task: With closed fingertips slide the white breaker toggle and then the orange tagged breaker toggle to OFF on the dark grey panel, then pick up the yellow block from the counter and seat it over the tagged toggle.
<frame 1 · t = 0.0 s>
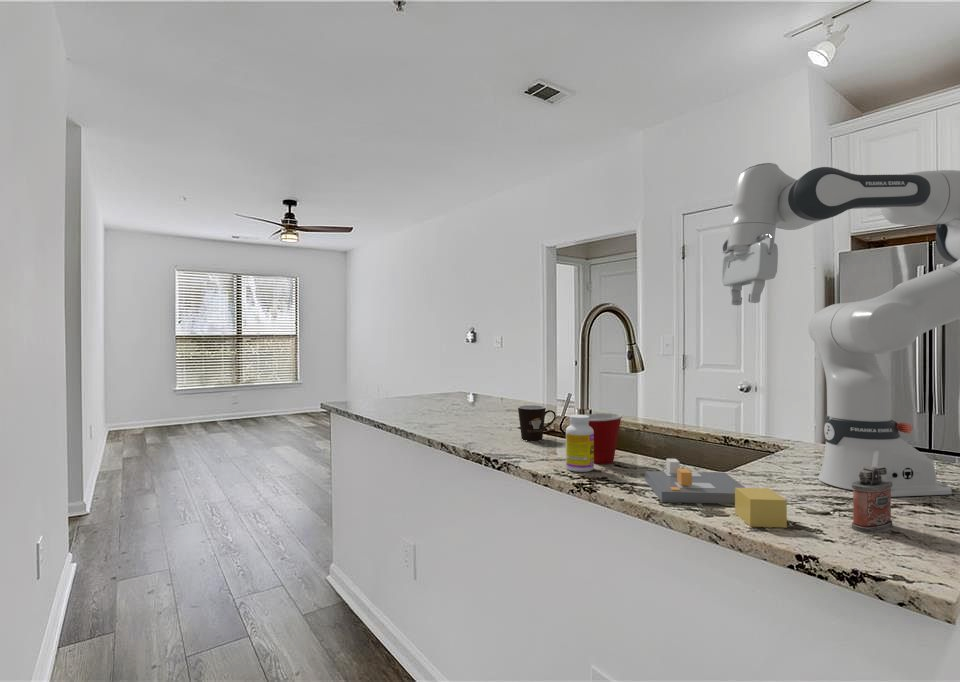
hand: (744, 304, 112), 39 cm above the counter, tool pointing down, fingers open, 8 cm apart
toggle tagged: (684, 476, 104), point 4 cm above the counter, slide at 0.0 cm
toggle white: (672, 466, 112), point 4 cm above the counter, slide at 0.0 cm
lighter: (872, 528, 86), on the counter
yellow block: (759, 519, 90), on the counter
coffee mug: (536, 440, 160), on the counter
supplement bottle: (579, 470, 124), on the counter
plastic cup: (600, 462, 132), on the counter
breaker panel: (695, 491, 106), on the counter
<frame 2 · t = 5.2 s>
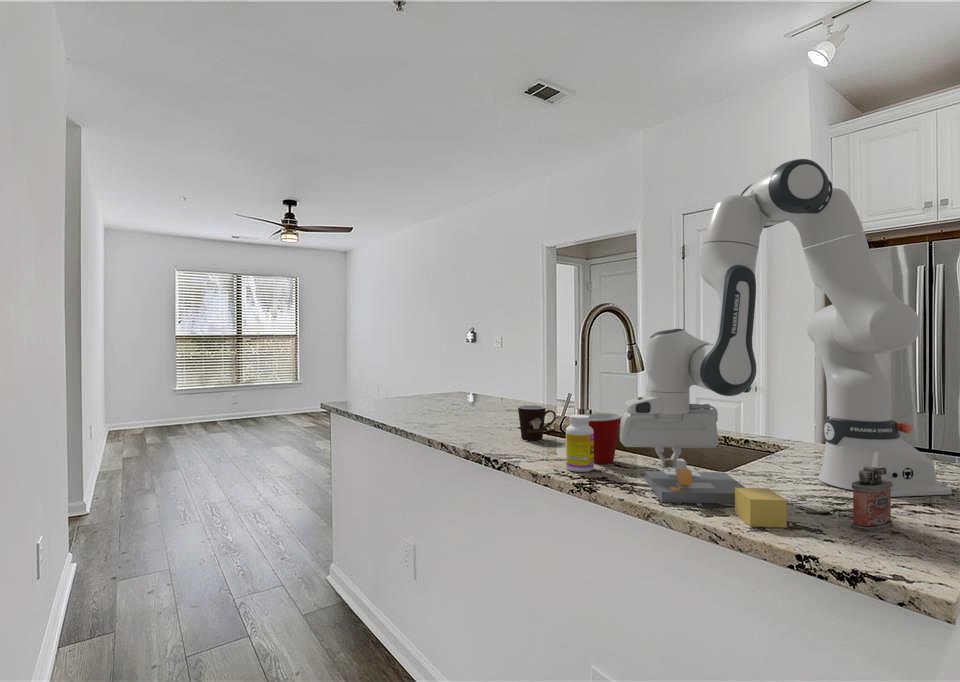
hand: (668, 467, 112), 3 cm above the counter, tool pointing down, fingers closed
toggle white: (679, 466, 112), point 4 cm above the counter, slide at 1.5 cm, touching gripper
everything else where it was.
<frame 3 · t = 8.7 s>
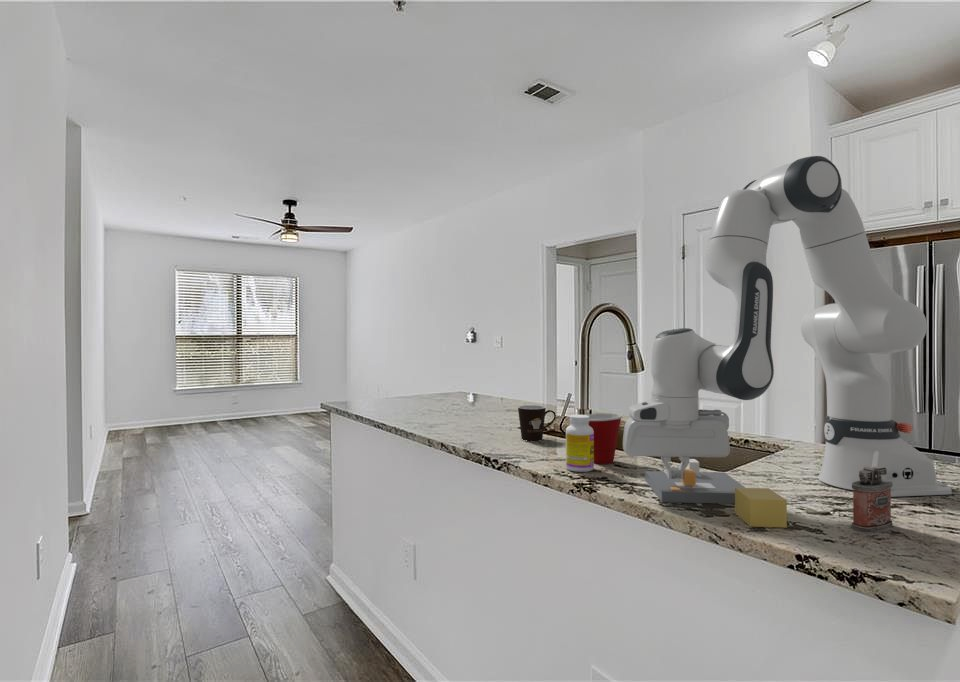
hand: (675, 478, 104), 3 cm above the counter, tool pointing down, fingers closed
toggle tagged: (688, 476, 104), point 4 cm above the counter, slide at 0.7 cm, touching gripper
toggle white: (692, 466, 112), point 4 cm above the counter, slide at 4.0 cm
everything else where it was.
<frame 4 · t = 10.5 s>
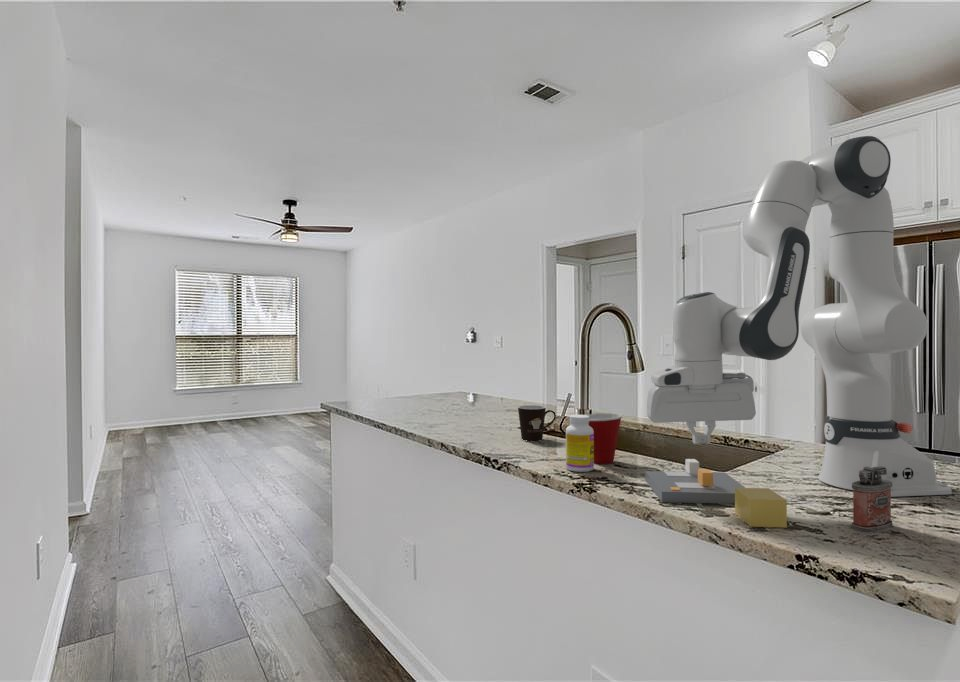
hand: (701, 443, 103), 11 cm above the counter, tool pointing down, fingers closed
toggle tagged: (705, 477, 103), point 4 cm above the counter, slide at 4.0 cm
everything else where it was.
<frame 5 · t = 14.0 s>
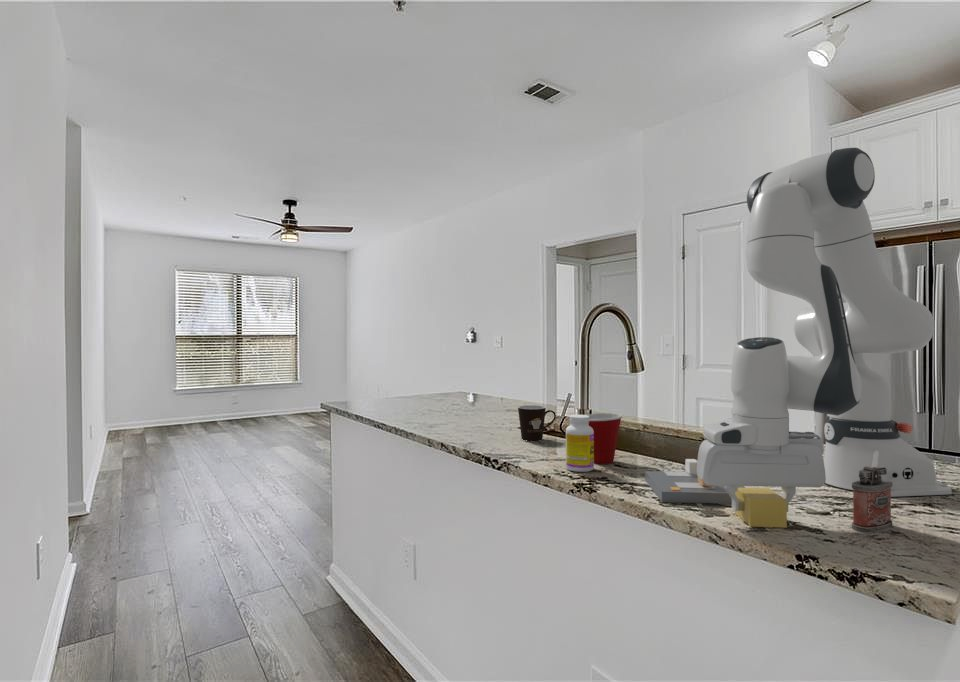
hand: (759, 510, 90), 2 cm above the counter, tool pointing down, fingers closed on yellow block, 6 cm apart
yellow block: (759, 520, 90), on the counter, touching gripper
everything else where it was.
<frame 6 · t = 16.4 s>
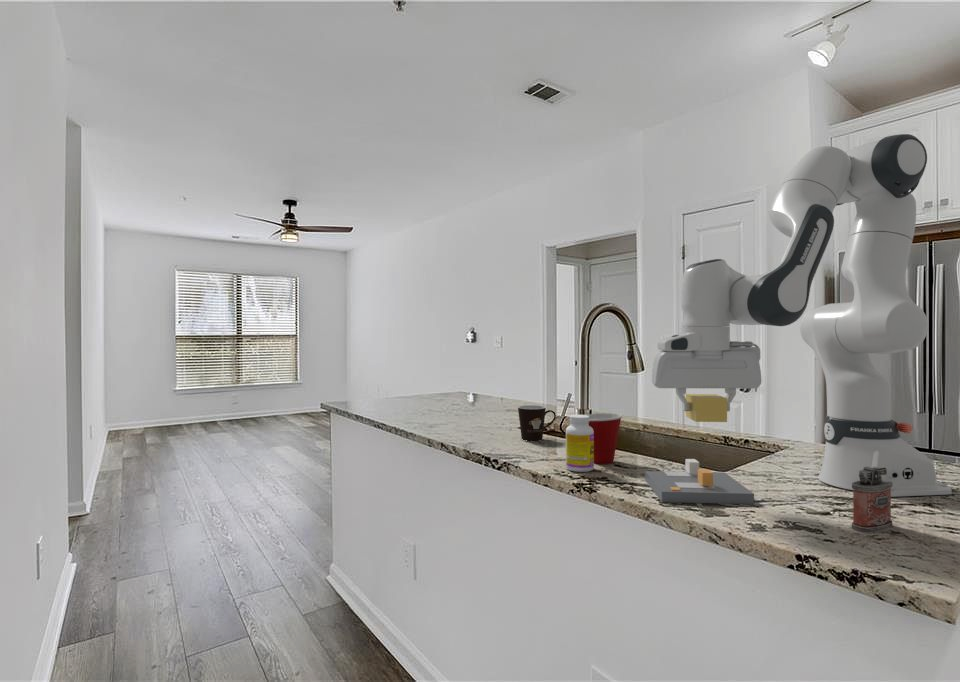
hand: (705, 411, 103), 17 cm above the counter, tool pointing down, fingers closed on yellow block, 6 cm apart
yellow block: (705, 419, 103), point 15 cm above the counter, touching gripper
everything else where it was.
when the fingers open (5 cm above the counter, at t = 19.1 s): yellow block drops 1 cm, resting on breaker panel.
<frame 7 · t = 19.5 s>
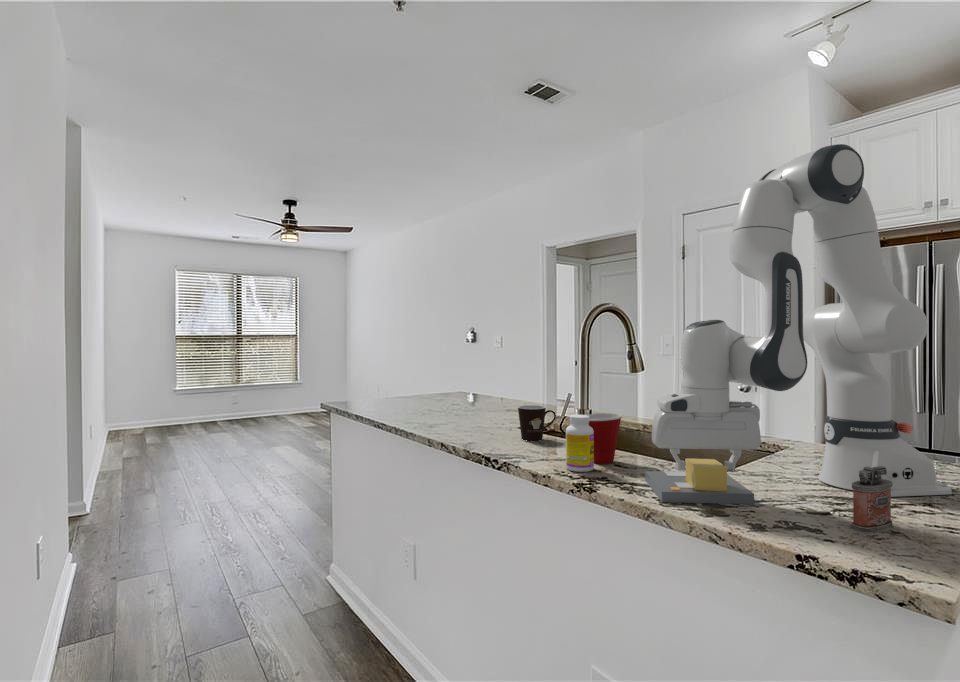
hand: (705, 470, 103), 5 cm above the counter, tool pointing down, fingers open, 8 cm apart
yellow block: (705, 485, 103), point 2 cm above the counter, touching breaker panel
everything else where it was.
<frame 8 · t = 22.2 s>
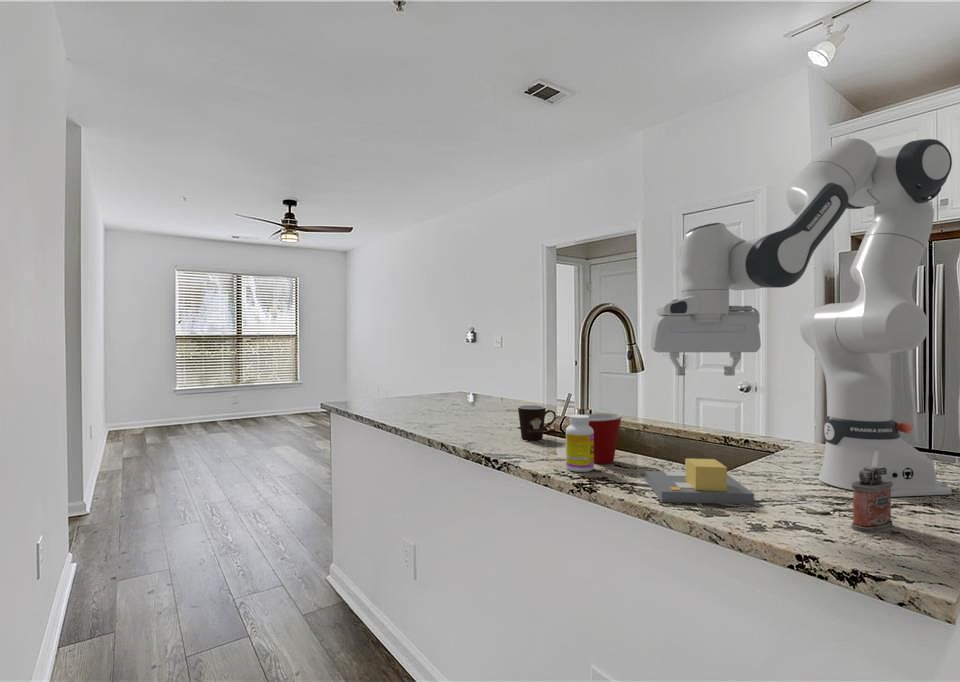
hand: (704, 375, 103), 24 cm above the counter, tool pointing down, fingers open, 8 cm apart
nothing on the counter moved.
at the end: toggle white slide at 4.0 cm; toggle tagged slide at 4.0 cm; yellow block 0.0 cm off-centre on the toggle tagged, point 2.1 cm above the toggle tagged's base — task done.
